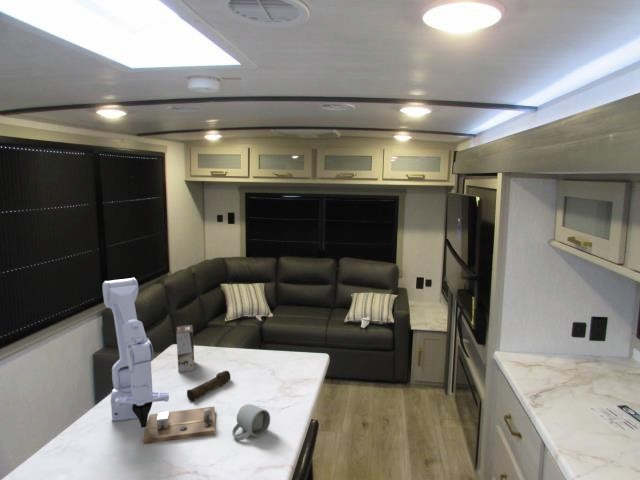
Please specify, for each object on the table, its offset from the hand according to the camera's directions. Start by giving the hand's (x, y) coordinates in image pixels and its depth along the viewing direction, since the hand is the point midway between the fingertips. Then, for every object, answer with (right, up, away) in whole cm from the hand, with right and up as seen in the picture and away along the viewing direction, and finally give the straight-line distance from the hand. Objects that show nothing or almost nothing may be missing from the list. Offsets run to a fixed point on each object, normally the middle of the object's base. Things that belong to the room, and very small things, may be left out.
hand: (144, 425), depth 129 cm
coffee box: (-2, +4, +47) cm, 47 cm away
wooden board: (+10, -2, +4) cm, 11 cm away
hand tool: (+13, +1, +28) cm, 30 cm away
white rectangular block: (+5, -1, +1) cm, 6 cm away
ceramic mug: (+32, -3, +1) cm, 32 cm away
